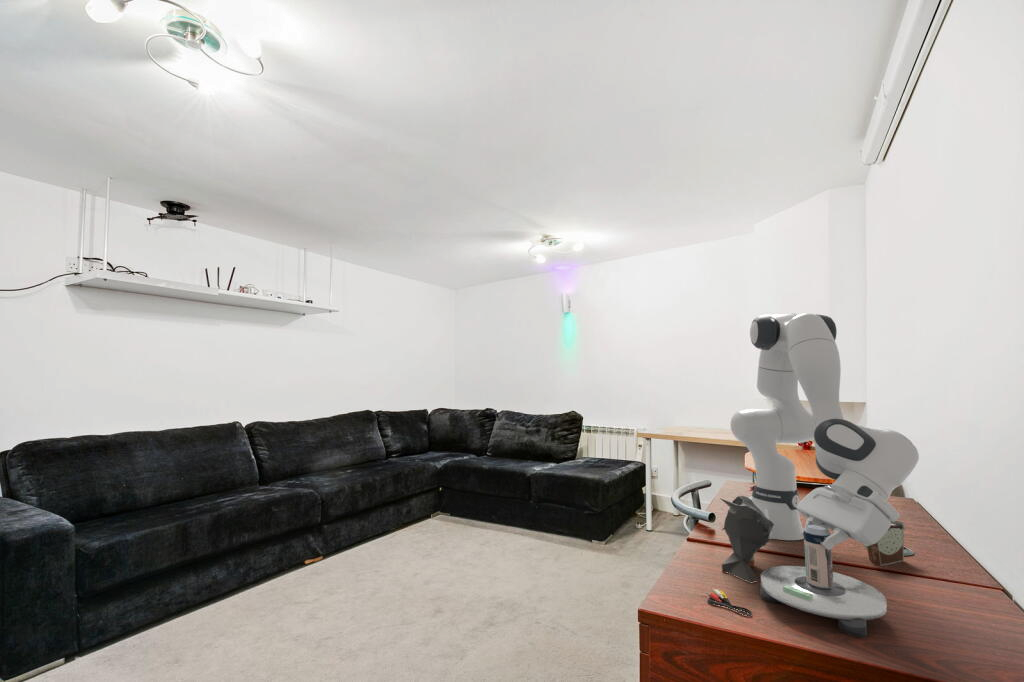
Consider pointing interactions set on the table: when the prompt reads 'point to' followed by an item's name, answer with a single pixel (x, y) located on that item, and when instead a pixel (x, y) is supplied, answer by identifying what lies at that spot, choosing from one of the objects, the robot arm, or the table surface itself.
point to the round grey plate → (825, 597)
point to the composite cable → (724, 601)
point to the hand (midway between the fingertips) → (814, 541)
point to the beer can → (817, 557)
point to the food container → (888, 546)
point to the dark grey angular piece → (745, 536)
